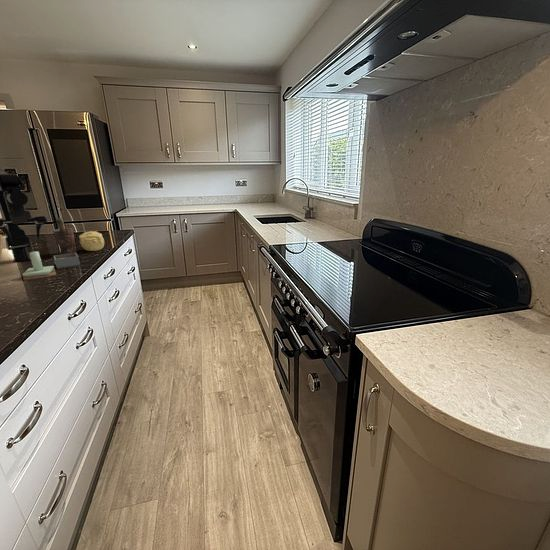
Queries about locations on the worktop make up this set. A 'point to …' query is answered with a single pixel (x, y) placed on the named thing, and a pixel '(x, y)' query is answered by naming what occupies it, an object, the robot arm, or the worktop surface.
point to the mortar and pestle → (64, 237)
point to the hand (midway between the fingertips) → (25, 240)
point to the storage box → (66, 260)
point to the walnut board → (40, 275)
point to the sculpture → (92, 241)
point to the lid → (37, 266)
